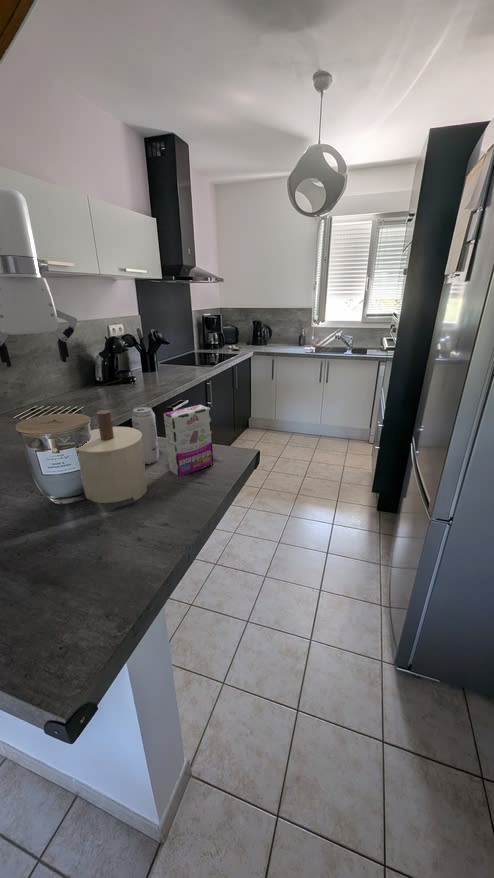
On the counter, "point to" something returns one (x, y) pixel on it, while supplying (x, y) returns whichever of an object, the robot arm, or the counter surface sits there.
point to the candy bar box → (189, 439)
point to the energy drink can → (146, 432)
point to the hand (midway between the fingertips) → (37, 363)
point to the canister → (114, 475)
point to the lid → (109, 436)
